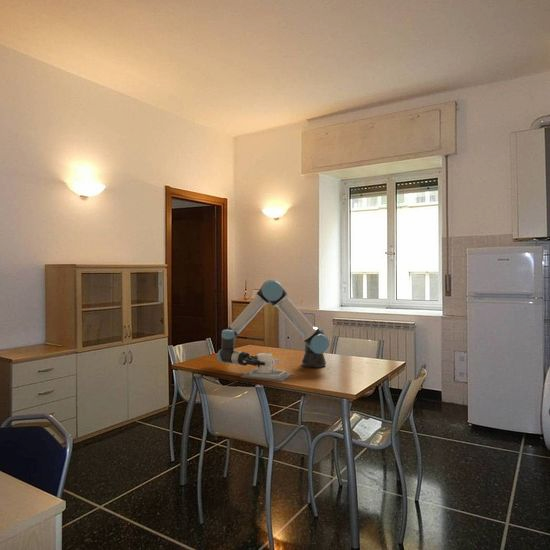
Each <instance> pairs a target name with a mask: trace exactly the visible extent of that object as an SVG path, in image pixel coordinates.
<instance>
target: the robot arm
mask: <svg viewBox="0 0 550 550" xmlns="http://www.w3.org/2000/svg"><path fill="white" fill-rule="evenodd" d="M269 303H270V305H271V306H272V307H276V308H277V309H278V310H279V311H280V312H281V313H282V314H283V316H284V317H285V318H286V319H287V320H288V321H289V322H290V323H291V324H292V326H293V327H294V328H295V329H296V330H297V331H298V332H299V334H300V335H301V336H302V341H304V353H303V357H302V360H301V366H302V365H303V366H302V367H305V366H306V367H305V368H312V367H320V368H324V367H323V366H325V365H326V366H327V362H326V358H325V355H324V353H325V352H327V351H328V350H329V346H330V341H329V338H328V337H327V336H326V335H325V332H324V329H320V328H318V327H317V326H314V325H313V324H312V323H311V322H310V321H309V320H308V319H307V318H306V317H305V315H304V314H303V313H302V312H301V311H300V310H299V308H298V307H297V306H296V305H295V304H294V303H293V302H292V300H291V299H290V298H289V297H288V292H287V291H286V290H285V288H284V287H283V286H282V284H281V283H280V282H279V281H277V280H274V279H269V280H266V281H265V282H263V283H262V285H261V287H260V288H259V289H258V291H257V292H256V293H255V297H254V298H253V299H252V300H251V301H250V302H249V304H248V305H247V306H246V307H245V308H244V309H243V311H241V313H239V315H238V316H237V317H236V318H235V319H234V321H233V322H232V323H231V324H230V325H229V326H228V327H227V328H226V329H223V330H222V331H221V349H219V350H218V352H217V354H216V358H217V361H219V362H220V363H224V364H225V363H226V364H232V365H236V366H239V365H241V366H245V367H246V366H248V365H250V366H255V367H257V365H258V367H260V366H266V367H271V362H268V361H258V360H257V356H258V355H250V353H248V352H245V351H241V350H240V351H239V350H235V339H236V338H237V336H238V335H239V334H240V333H241V332H242V331H243V330H244V329H245V327H246V326H247V325H248V324H249V323H250V322H251V321H252V320H253V318H254V317H255V316H256V315H257V314H258V313H259V312H260V311H261V310H262V309H263V308H264V306H265V305H268V304H269ZM273 359H274V360H275V365H280V359H279V358H273ZM272 364H273V361H272ZM326 366H325V367H326Z"/></svg>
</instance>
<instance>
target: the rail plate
mask: <svg viewBox="0 0 550 550" xmlns="http://www.w3.org/2000/svg"><path fill="white" fill-rule="evenodd" d="M292 376H293V373H290V372H289V373H288V372H287V370H279V369H274V370H273V371H272V372H271V373H269V374H260V373H258V372H257V367H256V368H255V369H253V370H251V371H249V372H246V373H244V374H242V375H240V378H244V379H251V380H260V381H268V380H269V381H271V382H280V383H283V382H284V381H286V380H287V379H289V378H290V377H292ZM269 381H268V382H269Z"/></svg>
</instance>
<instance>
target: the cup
mask: <svg viewBox="0 0 550 550" xmlns="http://www.w3.org/2000/svg"><path fill="white" fill-rule="evenodd" d="M256 356H257V360H258V361H268V362H271V367H266V366H260V367H258V365H257V366H256V368H257V372H258V373H260V374H269V373H271V372H272V371H273V370H276V369H275V368H276V364H275V360H274V359H275V358H273V353H268V352H262V353H257V355H256ZM272 361H273V363H272Z"/></svg>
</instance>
